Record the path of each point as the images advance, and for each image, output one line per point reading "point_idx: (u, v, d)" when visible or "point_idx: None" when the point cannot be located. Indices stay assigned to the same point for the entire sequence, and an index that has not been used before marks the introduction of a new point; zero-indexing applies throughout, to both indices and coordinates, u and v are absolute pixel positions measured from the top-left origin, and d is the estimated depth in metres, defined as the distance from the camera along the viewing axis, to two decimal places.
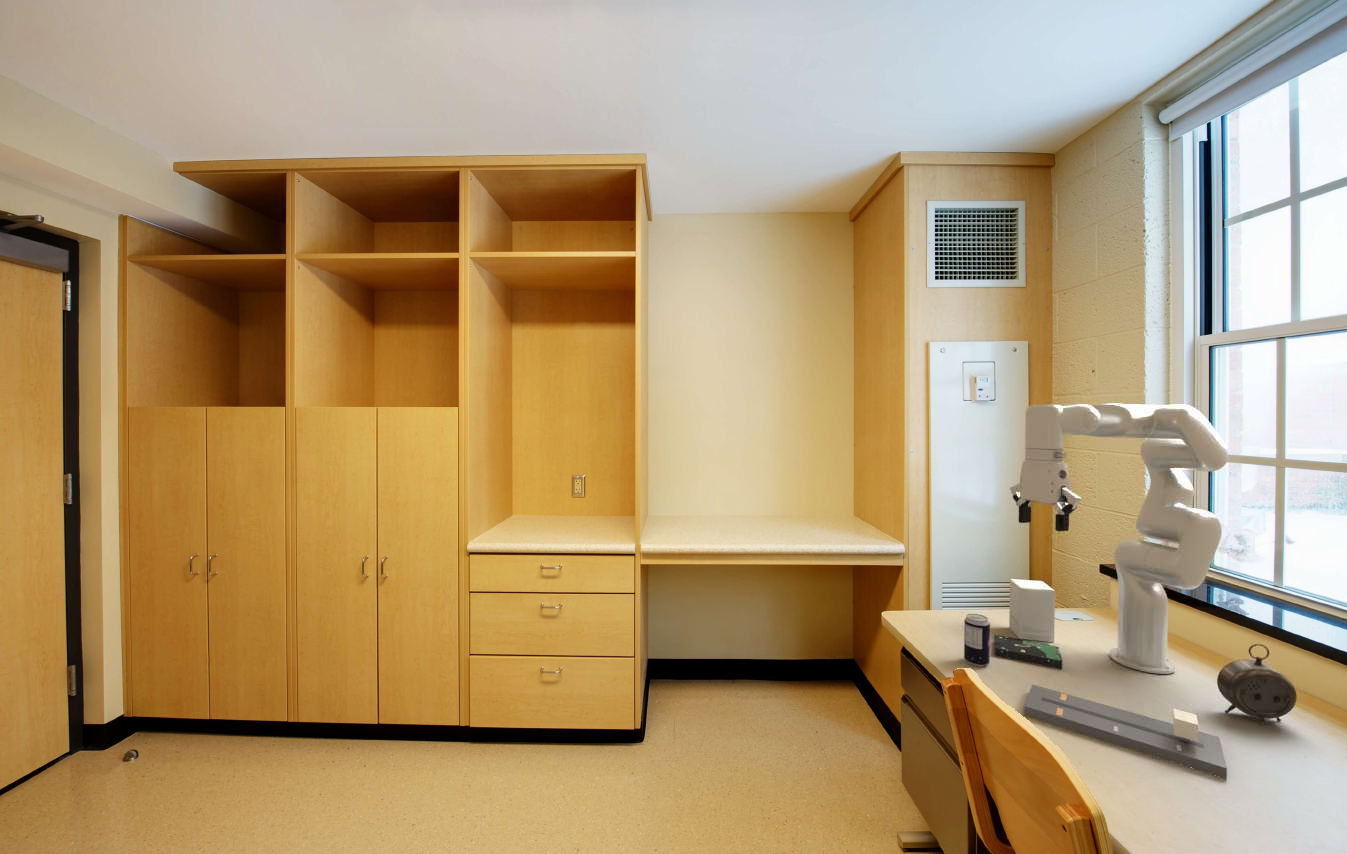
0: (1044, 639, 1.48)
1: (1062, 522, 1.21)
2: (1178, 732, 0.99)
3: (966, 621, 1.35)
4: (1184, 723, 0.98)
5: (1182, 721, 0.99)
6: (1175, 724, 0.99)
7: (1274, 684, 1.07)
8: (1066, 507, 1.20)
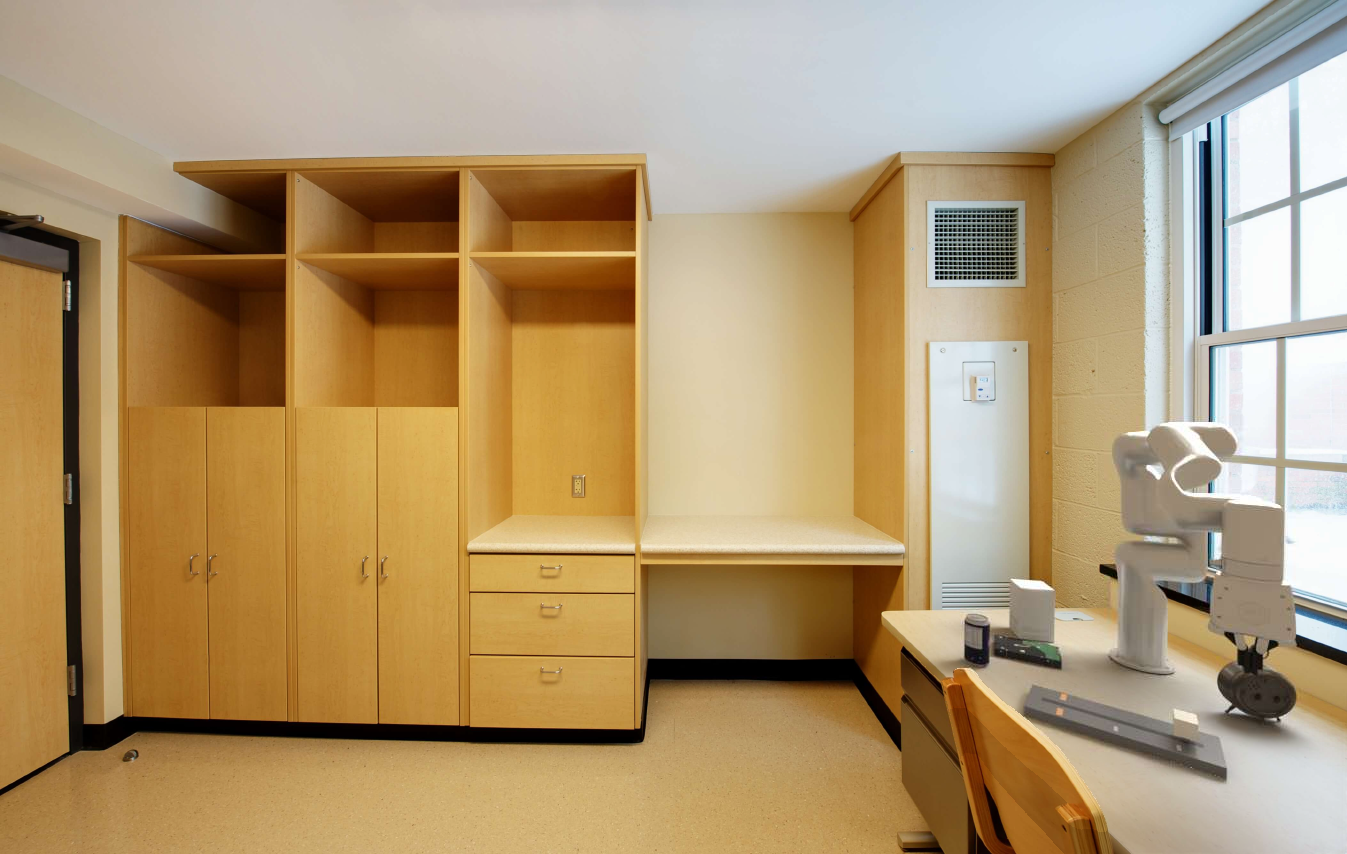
0: (1044, 639, 1.48)
1: None
2: (1178, 732, 0.99)
3: (966, 621, 1.35)
4: (1184, 723, 0.98)
5: (1182, 721, 0.99)
6: (1175, 724, 0.99)
7: (1274, 684, 1.07)
8: None
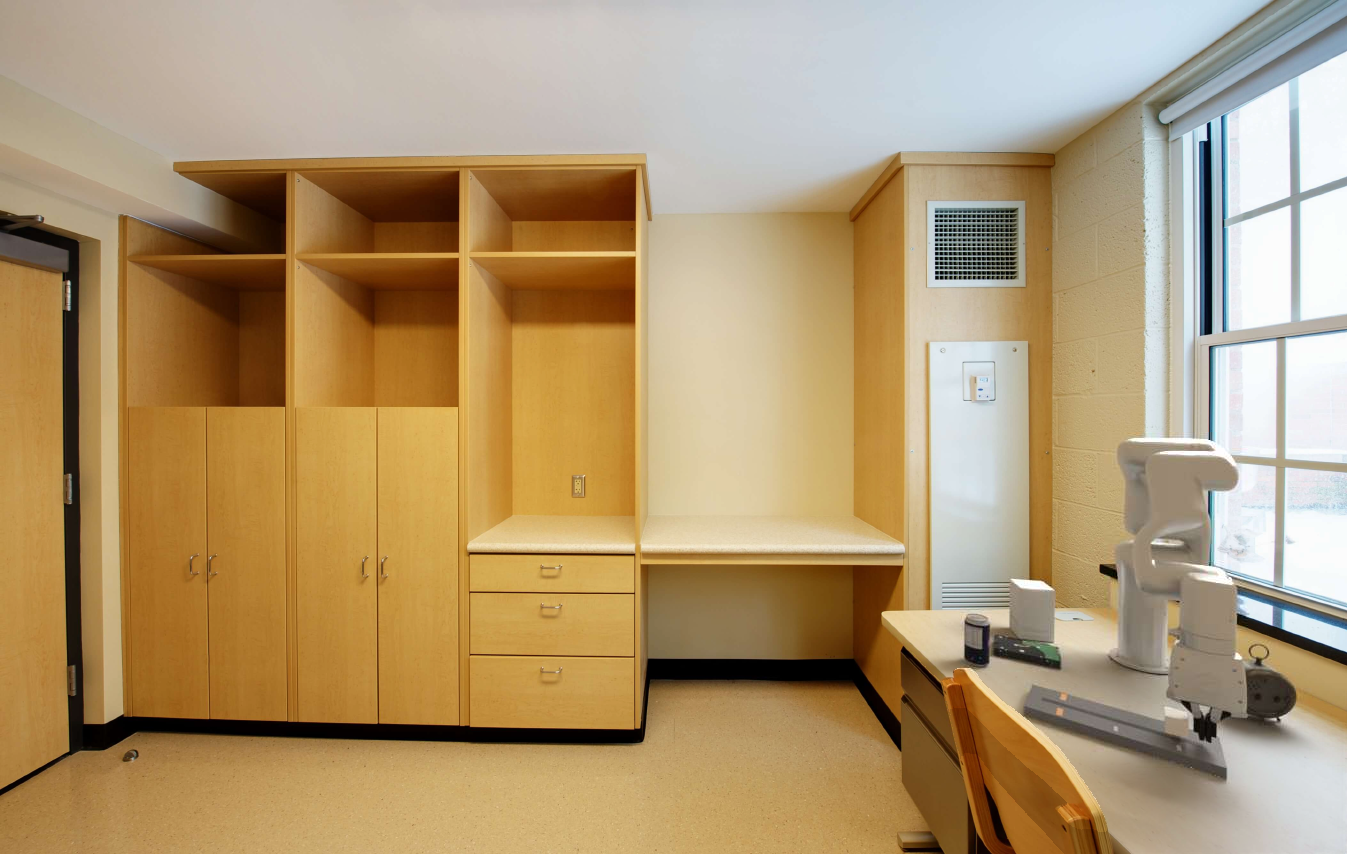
0: (1044, 639, 1.48)
1: None
2: (1169, 729, 1.00)
3: (966, 621, 1.35)
4: (1175, 721, 0.99)
5: (1173, 718, 0.99)
6: (1166, 721, 1.00)
7: (1274, 684, 1.07)
8: None
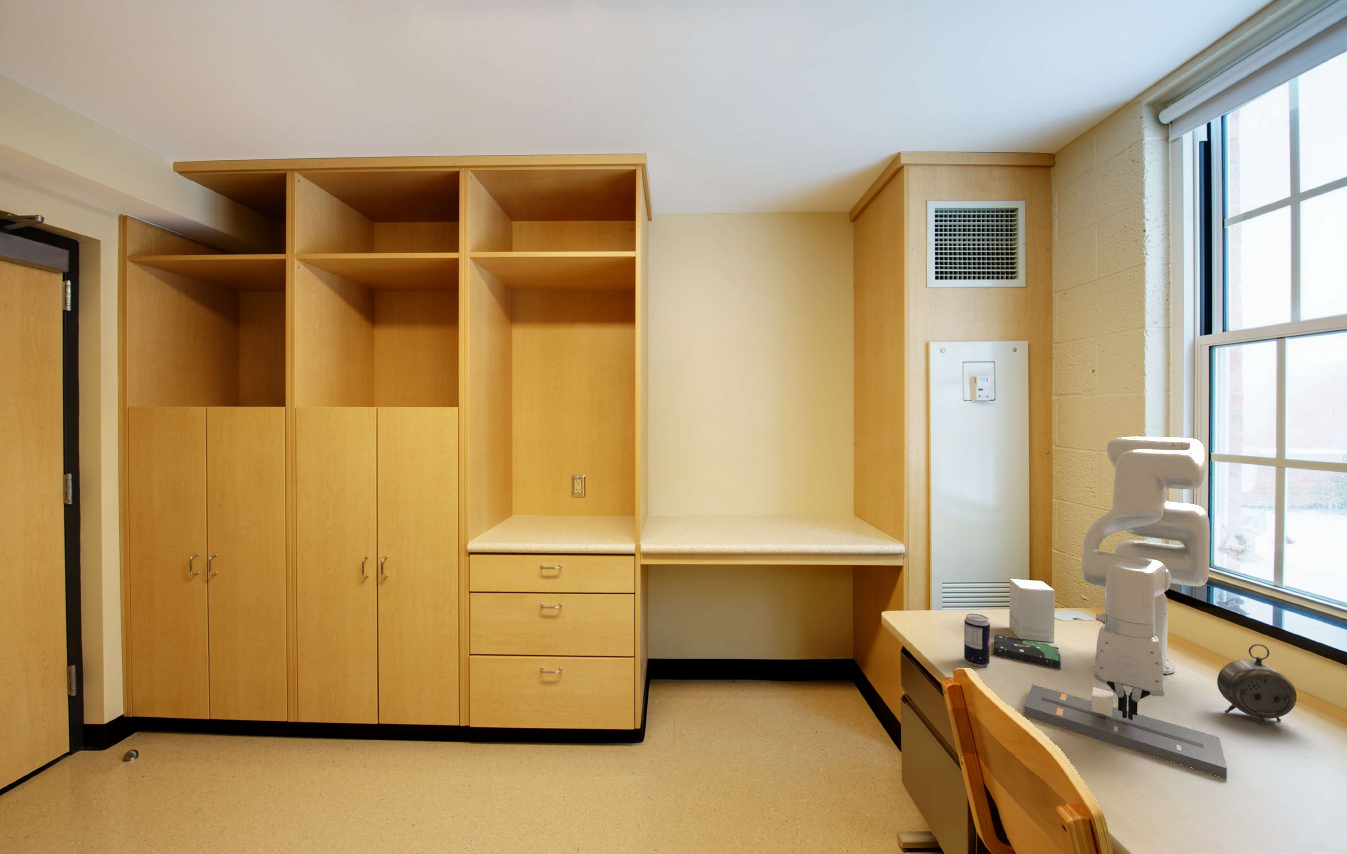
0: (1044, 639, 1.48)
1: None
2: (1095, 708, 1.07)
3: (966, 621, 1.35)
4: (1100, 700, 1.07)
5: (1099, 697, 1.07)
6: (1093, 701, 1.07)
7: (1274, 684, 1.07)
8: None
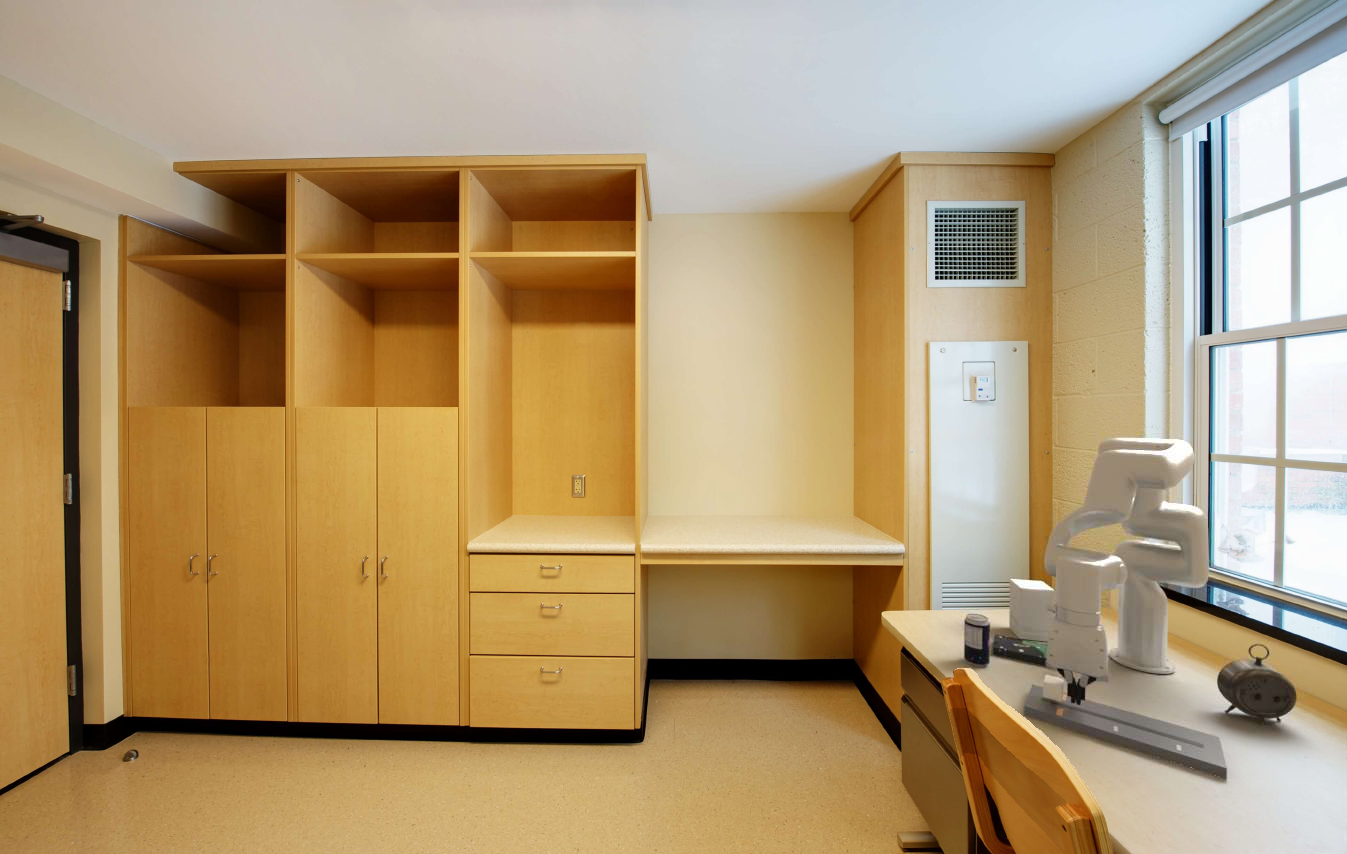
0: (1044, 639, 1.48)
1: None
2: (1046, 694, 1.13)
3: (966, 621, 1.35)
4: (1051, 686, 1.12)
5: (1049, 684, 1.12)
6: (1044, 687, 1.13)
7: (1274, 684, 1.07)
8: None
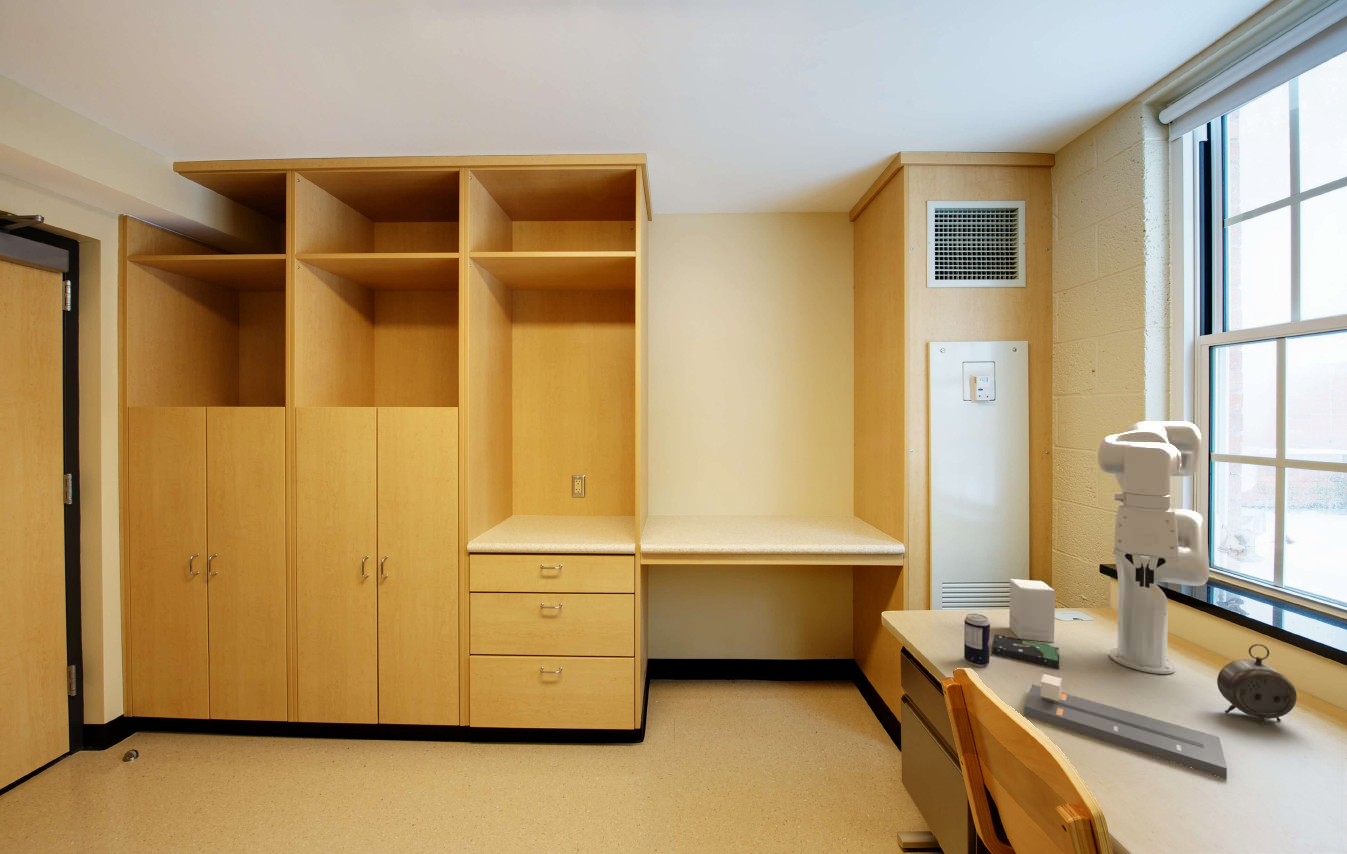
0: (1044, 639, 1.48)
1: None
2: (1044, 693, 1.13)
3: (966, 621, 1.35)
4: (1048, 685, 1.12)
5: (1047, 683, 1.12)
6: (1041, 686, 1.13)
7: (1274, 684, 1.07)
8: None
